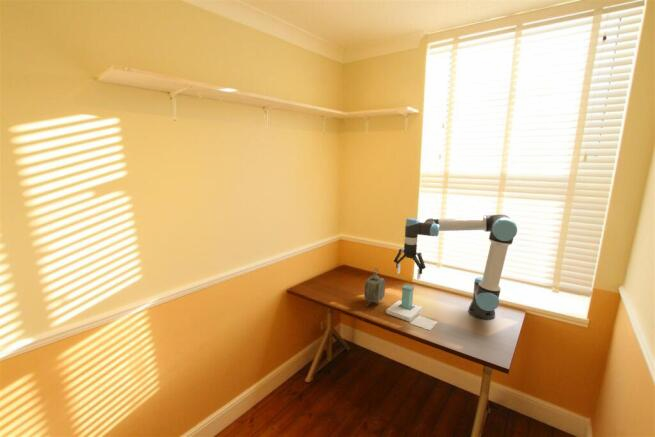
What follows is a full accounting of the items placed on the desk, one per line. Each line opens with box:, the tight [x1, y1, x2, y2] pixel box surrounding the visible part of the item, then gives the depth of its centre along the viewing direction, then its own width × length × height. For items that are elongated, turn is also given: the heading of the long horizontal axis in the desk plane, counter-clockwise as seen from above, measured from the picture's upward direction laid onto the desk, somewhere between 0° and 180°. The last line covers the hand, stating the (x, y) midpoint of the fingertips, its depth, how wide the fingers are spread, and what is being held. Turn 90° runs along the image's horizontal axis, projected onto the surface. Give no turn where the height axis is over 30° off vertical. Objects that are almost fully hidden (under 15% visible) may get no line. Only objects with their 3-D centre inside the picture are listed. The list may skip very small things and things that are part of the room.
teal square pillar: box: [401, 284, 415, 310], centre depth 200 cm, size 6×6×16 cm
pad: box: [409, 315, 438, 331], centre depth 186 cm, size 12×12×1 cm
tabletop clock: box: [363, 267, 386, 307], centre depth 207 cm, size 14×9×25 cm, turn 149°
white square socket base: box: [385, 299, 424, 323], centre depth 199 cm, size 16×18×3 cm
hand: (408, 276), depth 198 cm, fingers open, 13 cm apart
